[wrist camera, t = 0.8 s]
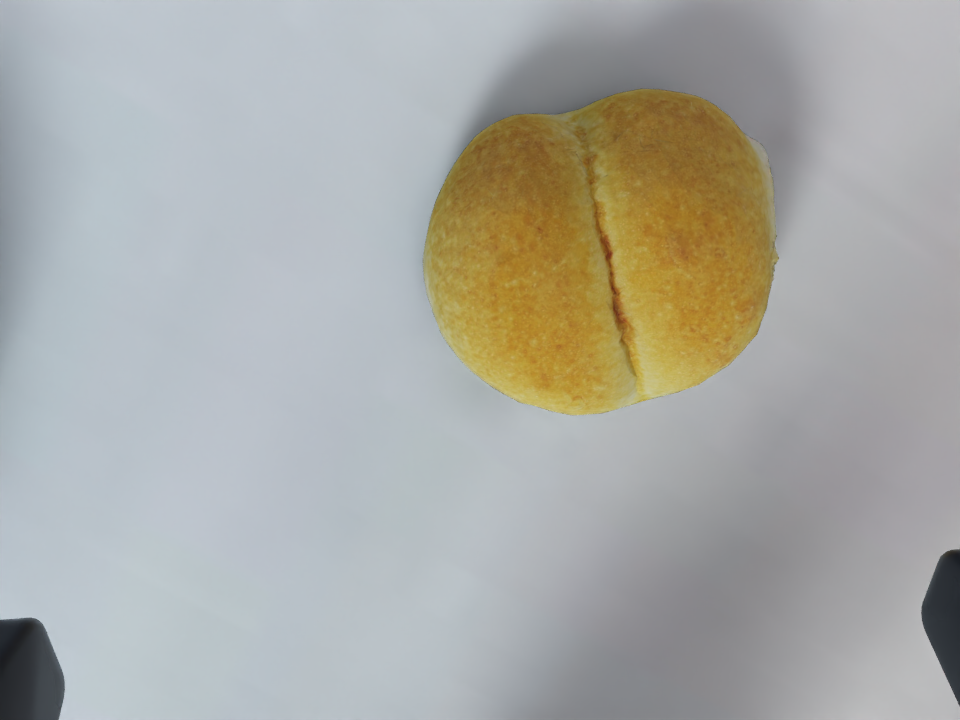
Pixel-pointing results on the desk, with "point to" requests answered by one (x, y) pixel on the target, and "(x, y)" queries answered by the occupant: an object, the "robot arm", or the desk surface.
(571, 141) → the bread roll
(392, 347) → the desk surface
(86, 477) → the desk surface
